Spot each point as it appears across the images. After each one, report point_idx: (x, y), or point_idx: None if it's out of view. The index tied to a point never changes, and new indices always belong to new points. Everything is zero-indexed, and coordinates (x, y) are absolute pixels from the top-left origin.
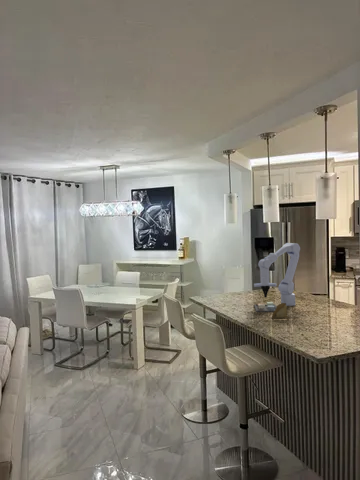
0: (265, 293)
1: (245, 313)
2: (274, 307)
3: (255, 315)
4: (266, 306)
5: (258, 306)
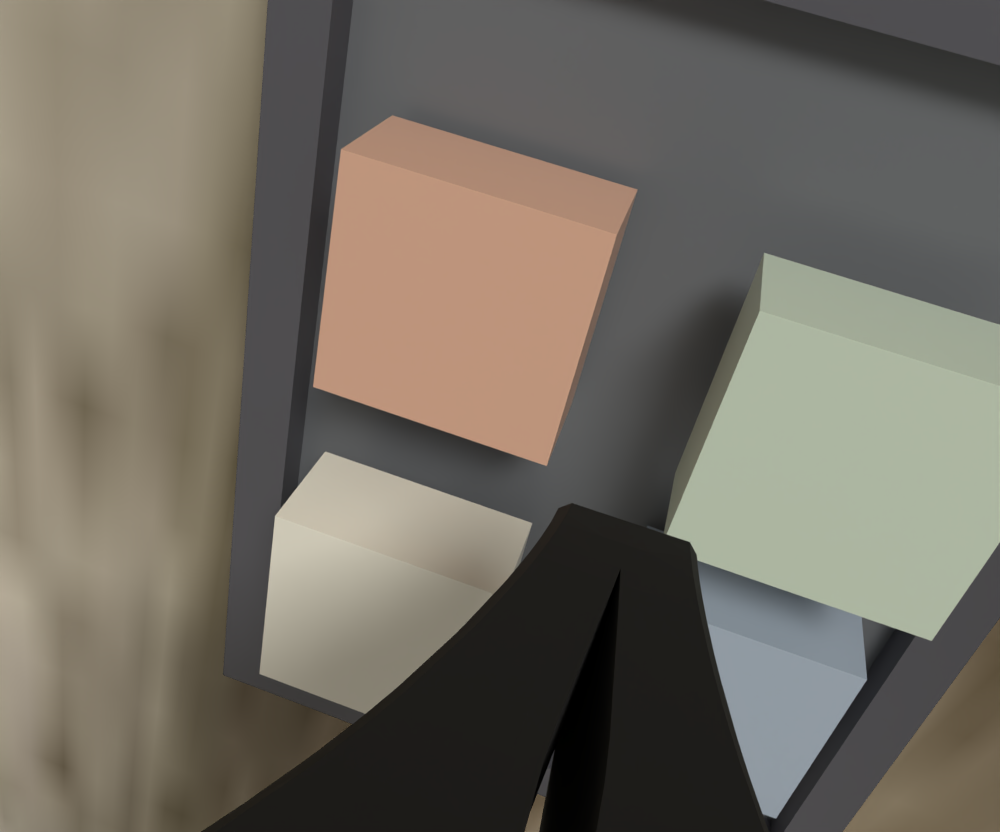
0: (585, 744)
1: (19, 477)
2: (770, 799)
3: (226, 691)
4: (799, 123)
5: (312, 479)
